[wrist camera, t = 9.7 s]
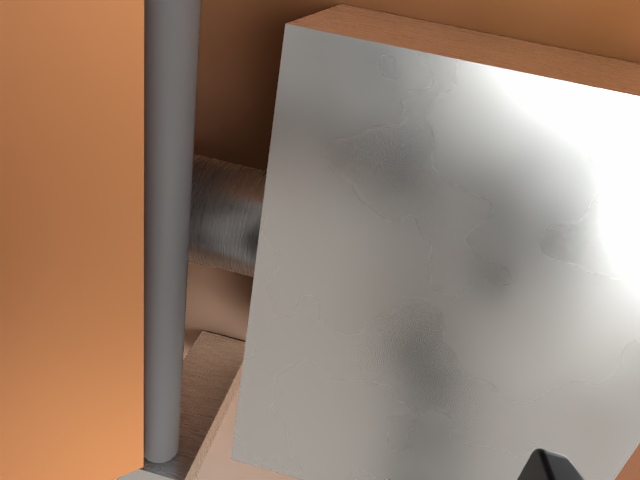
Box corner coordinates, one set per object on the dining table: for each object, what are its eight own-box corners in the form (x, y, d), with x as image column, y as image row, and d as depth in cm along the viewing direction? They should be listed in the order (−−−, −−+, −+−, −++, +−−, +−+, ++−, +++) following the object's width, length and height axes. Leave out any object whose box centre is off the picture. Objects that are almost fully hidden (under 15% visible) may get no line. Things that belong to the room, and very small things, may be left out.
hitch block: (504, 434, 18) (530, 611, 13) (107, 327, 19) (-6, 449, 14) (734, -31, 11) (979, -32, 6) (88, -148, 12) (-145, -226, 7)
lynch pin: (624, 344, 15) (689, 475, 11) (185, 235, 16) (107, 318, 12) (704, 206, 13) (820, 308, 9) (192, 92, 14) (100, 138, 10)
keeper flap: (170, 429, 14) (184, 454, 14) (-55, 517, 11) (-49, 553, 11) (189, -65, 9) (214, -60, 8) (-253, -144, 6) (-267, -145, 5)
